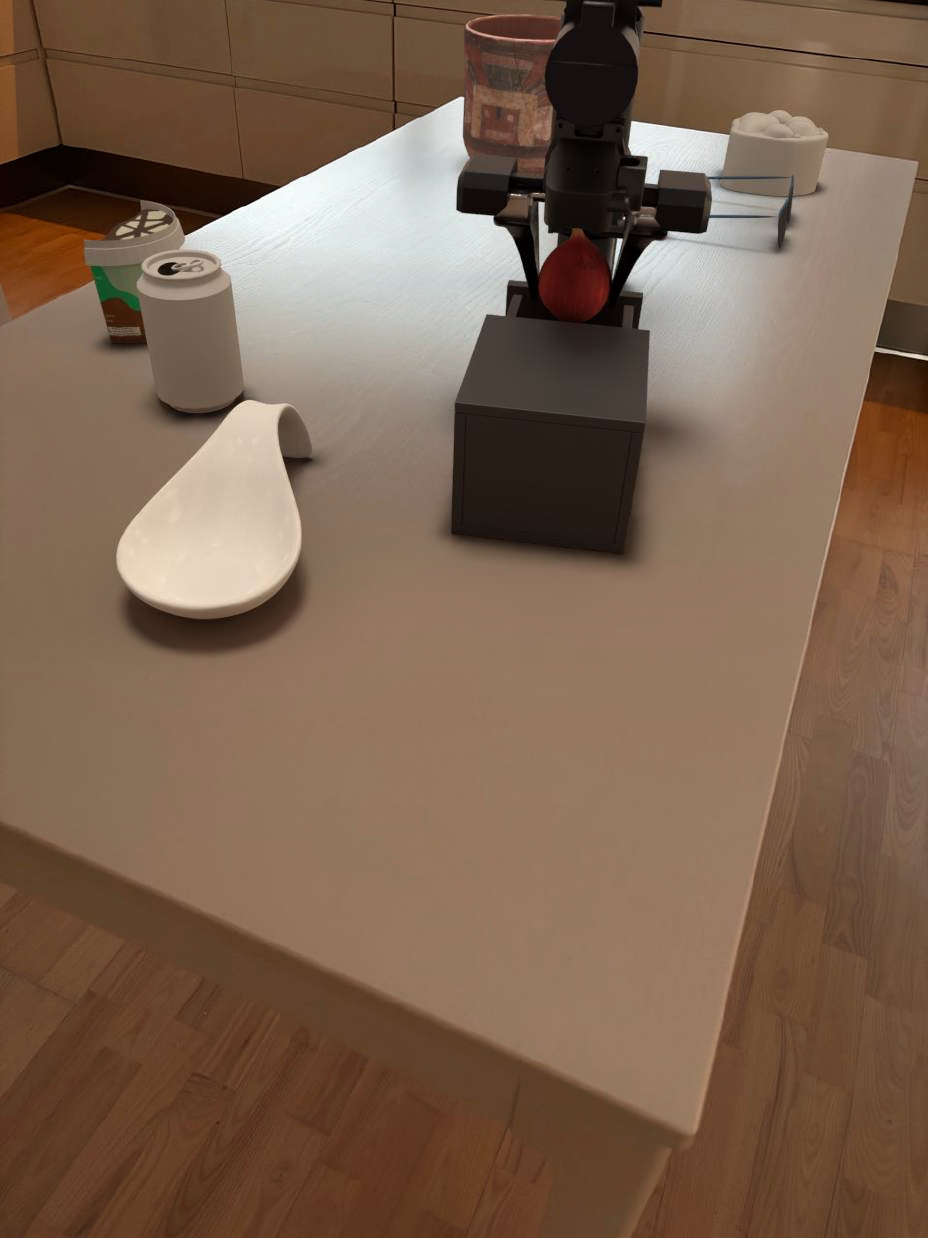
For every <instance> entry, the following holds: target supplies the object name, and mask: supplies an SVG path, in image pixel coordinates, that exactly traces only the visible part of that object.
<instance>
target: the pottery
mask: <svg viewBox="0 0 928 1238" xmlns="http://www.w3.org/2000/svg"><path fill="white" fill-rule="evenodd" d="M560 19H561V16H560V17H559V16H553V15H552V16H551V15H540V14H539V15H538V14H498V15H489V16H482V17H477V18H475V19H472V20H469V21H468V22H467V23H466V24H465V25H464V26H463V47H464V48H463V49H464V50H463V51H464V88H463V89H464V90H463V91H464V92H463V118H462V120H463V121H462V140H463V144H464V148H465V150H466V152H467V156H468V157H469V159H470V158H471V157H472V156H473V155H474V154H476V155H488V156H500V157H513V158H517V164H518V170H517V173H528V174H540V175H544V166H545V156H546V153H547V150H548V148H549V146H550V139H551V127H552V115H553V106H552V104H551V102H550V101H549V99H548V95H547V92H546V88H545V69H546V64H547V61H548V58H549V56H550V53H551V50H552V48H553V46H554V44H555V41H556V39H557V37H558V34H559V31H560Z"/></svg>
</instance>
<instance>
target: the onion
mask: <svg viewBox="0 0 928 1238" xmlns="http://www.w3.org/2000/svg"><path fill="white" fill-rule="evenodd" d="M612 279H613V276H612V274H611V269H610V266H609V264H608V261H607V260H606V258H605V256H604V255H603V254H602V252H601V251H600V250H599V248H598V247H597V246H596V245H595V244H594V243H592V242H591V241H590V240H589V239H588V238H587V237H586V236H585V235H584V233H583V231H582V229H577V228H573V229H572V234H571V237H570V239H569V240H567V241H565V242H563V243H562V244H560V245H559V246H557V245H556V247H555V248H554V249H553V250H552V251H551V252H550V253H549V254H548V255H547V257H546V258H545V260H544V261H543V263H542V265H541V268H540V273H539V277H538V287H539V294H540V297H541V299H542V301H543V303H544V305H545V306H546V307H547V308H548V309H549V311H550V312H551V313H552V314H553V315H554V316H555V317H556V318H557V319H558V320H559V321H561V322H571V323H582V322H584V321H586V320H588V319H590V318H592V317H593V316H595V315H596V314H597V313H598V312H600V310H601V309H602V307H603V306H604V304H605V303H606V301H607V300H608V298H609V295H610V291H611V286H612Z"/></svg>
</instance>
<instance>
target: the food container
mask: <svg viewBox="0 0 928 1238" xmlns="http://www.w3.org/2000/svg"><path fill="white" fill-rule="evenodd" d="M185 242H186V237H185V234H184V231H183V228H182V225H181V223H180V220H179V218H178V217H177V216H176V214H175V212H174V210H172V209H171V208H169V206H166V205H163V204H161V203H157V202H153V201H149V200H142V199H141V200H140V211H139V212H138V213H137V214H136V215H135V216H133V217H132V218H130V219H128V220H125V221H121V222H119V223H117V224H116V225H115V226H113V228H111V229H110V231H109V232H108V233H107V234H106V236H104V237H103V238H102V239H101V240H91V239H83V244H84V248H83V251H84V252H83V254H84V262H85V266H90V270H91V273H92V278H93V282H94V285H95V287H96V292H97V295H98V299H99V303H100V306H101V310H102V314H103V319H104V322H105V325H106V328H107V329H106V330H107V332H108V335H109V339H110V343H113V344H140V343H147V339H146V334H145V328H144V323H143V318H142V312H141V307H140V302H139V296H138V291H137V281H138V280H139V278H140V277H141V276H142V274H143V273H144V272H143V271H142V263H143V262H144V261H145V260H146V259H147V258H149V257H151V256H152V255H155V254H158V253H161V252H165V251H171V250H180V248H181V247H182V246H183V245H184V243H185Z"/></svg>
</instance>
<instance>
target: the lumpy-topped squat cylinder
mask: <svg viewBox="0 0 928 1238" xmlns="http://www.w3.org/2000/svg"><path fill="white" fill-rule="evenodd" d="M728 136H729V137H728V141H727V145H726V146H727V147H726V152H725V156H724V157H725V158H724V163H723V167H722V168H723V169H722V173H721V176H778V177H791V178H778V179H720V183H719V185H720V186H721V187H722V188H724V189H727V190H730V191H733V192H739V193H746V194H752V195H762V196H772V197H788V194H789V189H790V186H791V181H792V175H793V176H794V188H793V197H796V196H797V197H798V196H806V195H809V194H812V193H814V192H815V191H816V188H817V185H818V180H819V176H820V173H821V169H822V166H823V159H824V156H825V152H826V149H827V144H828V141H829V133H828V132H827V131H825V130H824V128H822V127H817V126H816V124H815V123H814V122H813V121H812V120H811V119H810V118H808V117H805V116H802V115H801V116H792V115H791V114H790V113H789V112H787V111H785V110H783V109H782V110H781V109H778V110H773V111H771V112H770V113H763V112H755V111H754V112H753V111H752V112H748V113H745V114H744V115H743V116H741V117H738V118H735V119H733V120H732V122H731V127H730V131H729V135H728Z"/></svg>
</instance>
